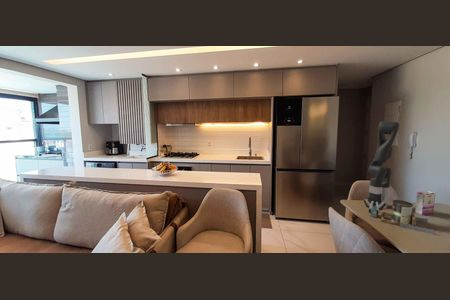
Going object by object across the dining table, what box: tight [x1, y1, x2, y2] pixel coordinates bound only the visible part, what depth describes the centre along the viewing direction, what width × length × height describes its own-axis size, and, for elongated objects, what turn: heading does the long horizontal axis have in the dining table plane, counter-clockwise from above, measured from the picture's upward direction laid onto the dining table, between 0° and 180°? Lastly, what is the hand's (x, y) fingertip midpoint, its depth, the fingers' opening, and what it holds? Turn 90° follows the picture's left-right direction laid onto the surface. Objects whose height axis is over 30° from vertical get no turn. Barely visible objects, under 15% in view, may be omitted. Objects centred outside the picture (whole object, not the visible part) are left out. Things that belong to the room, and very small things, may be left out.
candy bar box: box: [414, 190, 436, 216], centre depth 144 cm, size 11×5×16 cm, turn 101°
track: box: [399, 216, 436, 235], centre depth 129 cm, size 16×18×2 cm
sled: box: [370, 205, 417, 226], centre depth 136 cm, size 23×15×8 cm, turn 54°
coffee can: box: [390, 199, 414, 225], centre depth 132 cm, size 10×10×14 cm
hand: (373, 213), depth 142 cm, fingers closed on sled, 3 cm apart
